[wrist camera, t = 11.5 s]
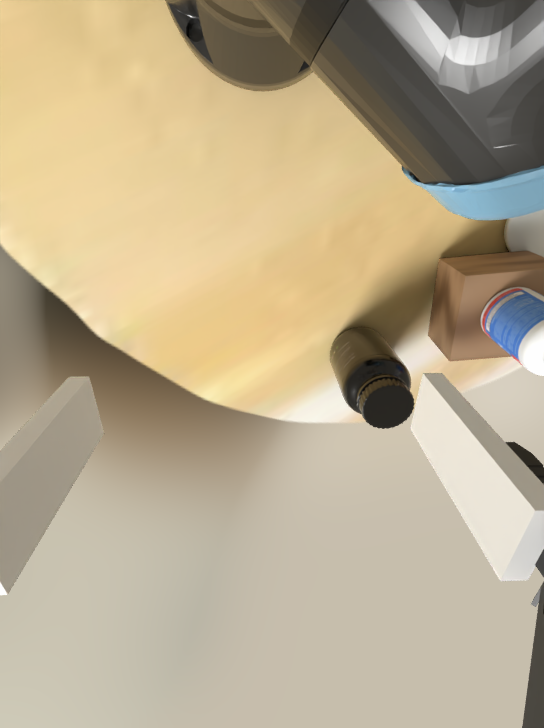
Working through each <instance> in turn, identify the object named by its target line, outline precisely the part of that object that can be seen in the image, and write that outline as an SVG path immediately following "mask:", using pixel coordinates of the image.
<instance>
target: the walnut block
mask: <svg viewBox="0 0 544 728" xmlns="http://www.w3.org/2000/svg"><path fill="white" fill-rule="evenodd" d="M513 287H525V288H529V289H531V290H534V291H536V292H537V293H539V294H541V295H543V296H544V257H542V256H540V255H537V254H535V253H533V252H530V251H528V250H527V251H516V252H505V253H494V254H483V255H472V256H461V257H450V258H439V263H438V270H437V277H436V284H435V291H434V298H433V304H432V311H431V318H430V325H429V332H428V336H429V337H430V338H431V340H432V341H433V342H434V343H435V344H436V346H437V347H438V348H439V349H440V350H441V352H442V353H443V354H444V355H445V356H446V358H447V359H448V360H449V361H459V360H472V359H485V358H498V357H511V355H510V354H509V353H507V352H506V351H505V350H504V349H503V348H502V347H500V346H499V345H498V344H497V343H496V342H494V341H493V340H492V339H491V338H490V337H489V336H488V335H487V334H486V333H485V332H484V331H483V329H482V326H481V315H482V312H483V310H484V308H485V306H486V305H487V303H488V302H489V301H490V300H491V299H492V298H493V297H494V296H495V295H497V294H498V293H500V292H502V291H504V290H506V289H509V288H513Z"/></svg>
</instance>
